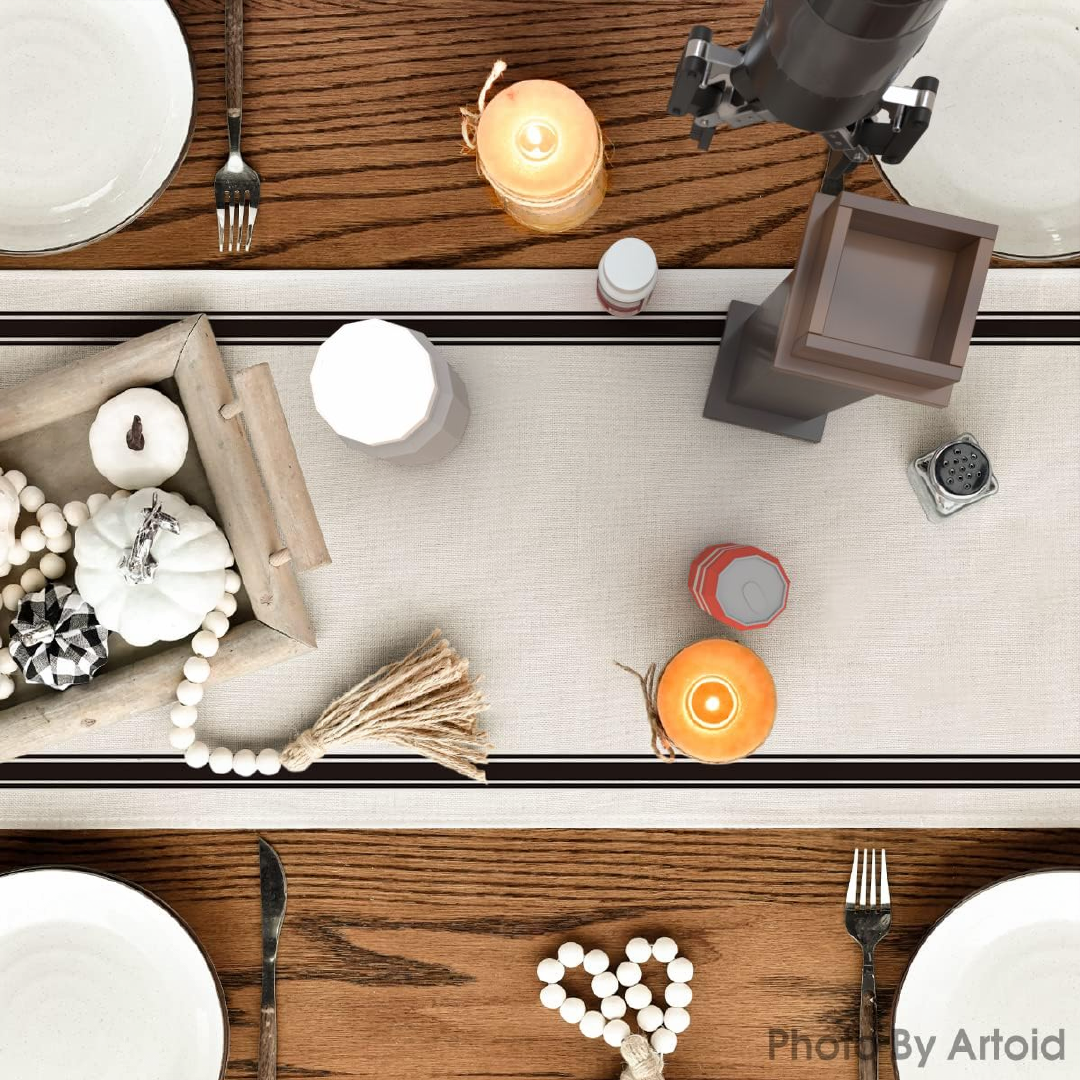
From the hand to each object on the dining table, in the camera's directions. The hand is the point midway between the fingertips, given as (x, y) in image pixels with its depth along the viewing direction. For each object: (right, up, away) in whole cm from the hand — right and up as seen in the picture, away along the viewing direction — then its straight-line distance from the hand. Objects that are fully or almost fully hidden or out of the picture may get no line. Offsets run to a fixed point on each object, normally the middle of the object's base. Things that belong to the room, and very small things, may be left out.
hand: (769, 149), depth 60 cm
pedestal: (+5, -11, +19) cm, 22 cm away
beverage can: (+1, -29, +20) cm, 35 cm away
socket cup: (+4, -12, -7) cm, 15 cm away
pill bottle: (-8, -4, +19) cm, 21 cm away
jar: (-26, -14, +20) cm, 35 cm away
